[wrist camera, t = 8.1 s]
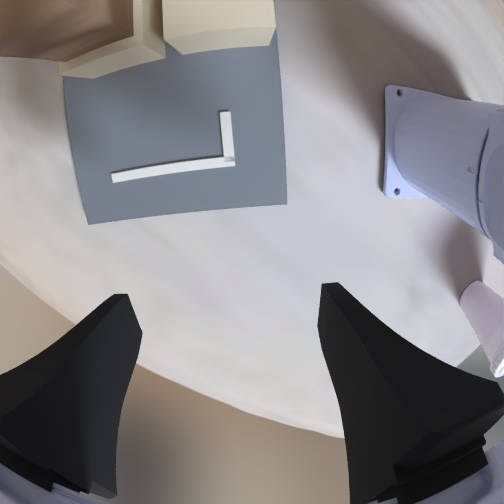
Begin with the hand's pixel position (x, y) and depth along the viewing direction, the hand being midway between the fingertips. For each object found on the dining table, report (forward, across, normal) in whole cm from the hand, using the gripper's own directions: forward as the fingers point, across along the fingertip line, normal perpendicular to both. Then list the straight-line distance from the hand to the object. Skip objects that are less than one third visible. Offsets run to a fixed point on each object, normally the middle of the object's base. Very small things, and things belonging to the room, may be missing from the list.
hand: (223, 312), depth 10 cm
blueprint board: (+10, +4, -9) cm, 14 cm away
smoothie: (+10, -25, +10) cm, 28 cm away
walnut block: (+5, +6, -13) cm, 15 cm away
